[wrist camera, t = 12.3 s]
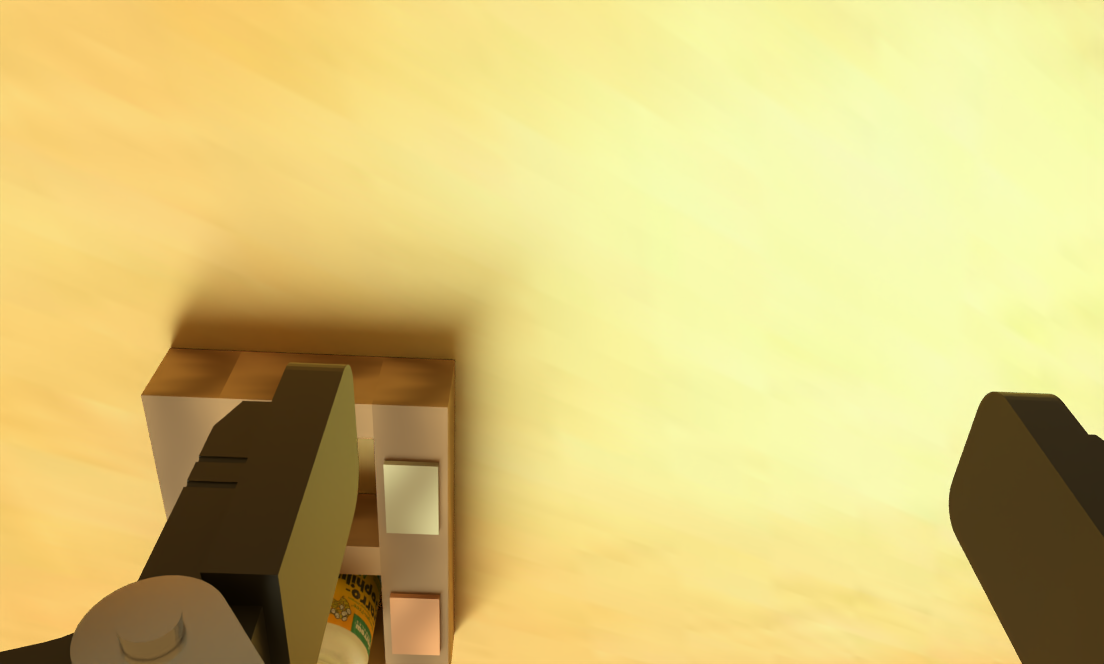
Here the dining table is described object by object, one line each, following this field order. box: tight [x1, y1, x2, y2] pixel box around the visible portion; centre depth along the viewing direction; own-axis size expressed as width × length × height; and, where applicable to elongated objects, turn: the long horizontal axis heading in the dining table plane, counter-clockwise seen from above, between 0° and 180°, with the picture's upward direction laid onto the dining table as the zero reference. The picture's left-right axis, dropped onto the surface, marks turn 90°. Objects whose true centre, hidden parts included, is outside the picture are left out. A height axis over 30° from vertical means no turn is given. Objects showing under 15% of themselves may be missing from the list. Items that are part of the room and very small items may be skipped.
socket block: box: [141, 348, 455, 664], centre depth 51 cm, size 14×20×4 cm
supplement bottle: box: [317, 574, 382, 664], centre depth 51 cm, size 5×5×10 cm
